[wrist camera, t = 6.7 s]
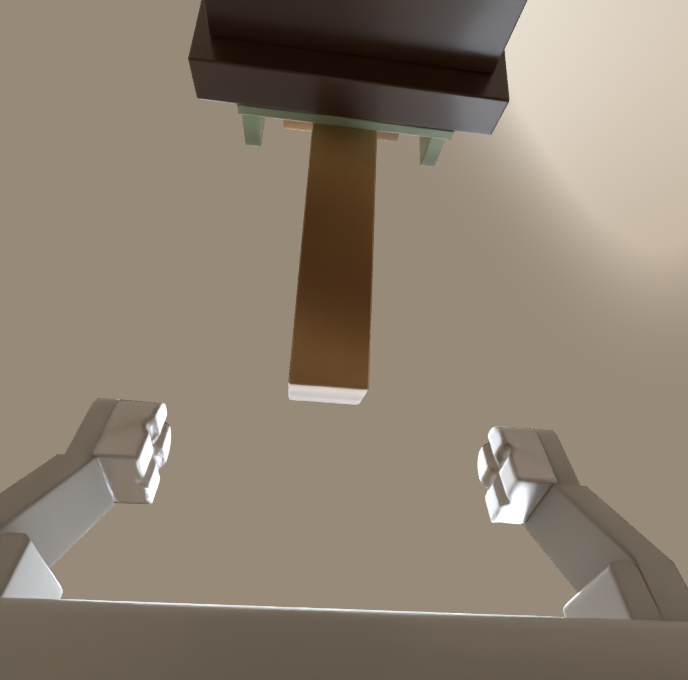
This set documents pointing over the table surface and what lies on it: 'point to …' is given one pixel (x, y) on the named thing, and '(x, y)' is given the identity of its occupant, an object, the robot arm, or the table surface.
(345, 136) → the brush
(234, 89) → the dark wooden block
